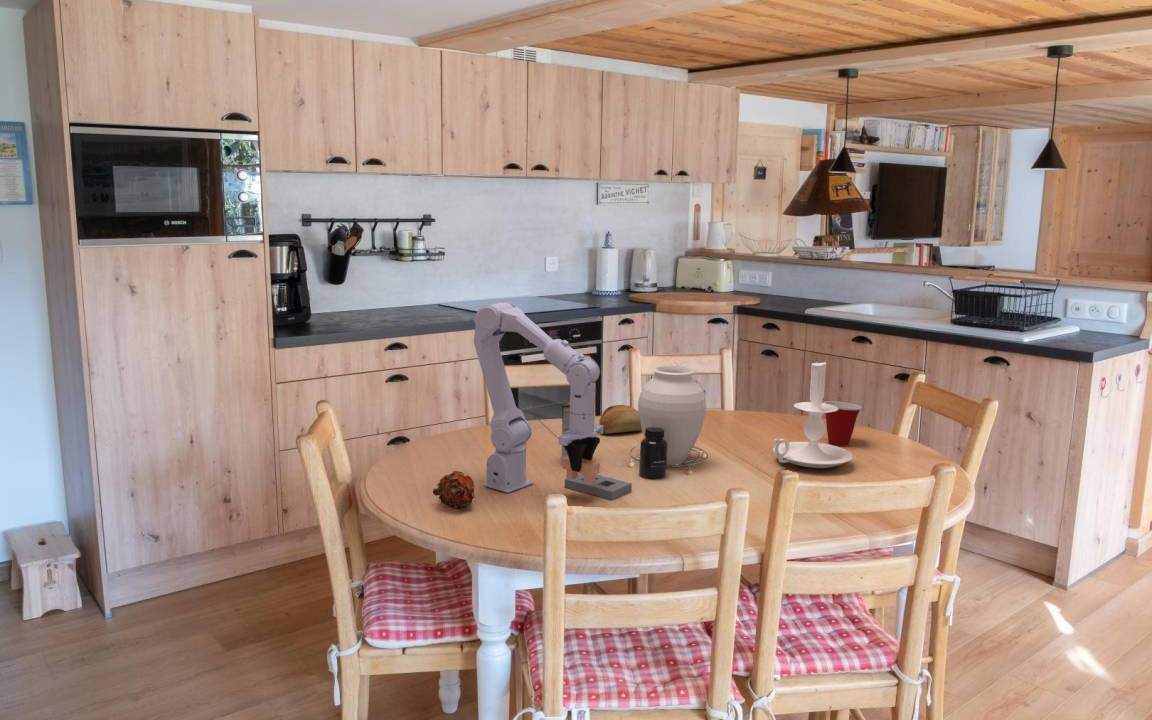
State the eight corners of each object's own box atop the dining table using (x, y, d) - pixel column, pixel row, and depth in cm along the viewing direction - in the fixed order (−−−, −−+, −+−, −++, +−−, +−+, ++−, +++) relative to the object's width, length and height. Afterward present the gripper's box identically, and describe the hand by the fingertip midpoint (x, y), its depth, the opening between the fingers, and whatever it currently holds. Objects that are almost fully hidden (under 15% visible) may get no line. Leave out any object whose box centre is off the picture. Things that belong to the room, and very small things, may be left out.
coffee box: (568, 455, 240) (569, 397, 237) (591, 456, 239) (592, 398, 236) (560, 464, 231) (561, 404, 228) (584, 466, 230) (586, 406, 227)
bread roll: (590, 431, 265) (591, 405, 263) (631, 425, 273) (632, 400, 271) (608, 439, 257) (609, 412, 255) (650, 432, 265) (651, 406, 263)
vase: (622, 460, 236) (625, 368, 231) (663, 448, 248) (666, 360, 244) (676, 476, 224) (680, 379, 219) (716, 461, 237) (721, 370, 232)
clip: (591, 485, 202) (592, 465, 202) (562, 477, 207) (563, 458, 207) (599, 482, 205) (599, 462, 204) (570, 474, 210) (570, 455, 209)
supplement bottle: (658, 481, 219) (660, 434, 217) (634, 476, 223) (635, 430, 221) (670, 474, 225) (672, 428, 223) (646, 469, 229) (648, 424, 227)
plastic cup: (866, 445, 256) (870, 405, 253) (842, 451, 250) (845, 409, 247) (836, 436, 264) (839, 397, 262) (812, 441, 258) (815, 401, 256)
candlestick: (744, 461, 238) (751, 358, 233) (809, 448, 251) (816, 351, 246) (802, 482, 221) (810, 372, 216) (868, 468, 234) (877, 364, 229)
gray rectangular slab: (612, 500, 205) (612, 491, 205) (564, 487, 213) (564, 479, 213) (631, 491, 211) (631, 483, 211) (584, 479, 220) (584, 471, 219)
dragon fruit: (461, 522, 194) (445, 512, 204) (489, 495, 196) (473, 487, 207) (437, 493, 191) (422, 485, 202) (466, 467, 194) (451, 460, 205)
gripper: (576, 421, 195) (575, 480, 198) (614, 409, 206) (612, 465, 209) (551, 415, 199) (550, 473, 202) (590, 404, 211) (588, 459, 213)
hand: (580, 469), depth 206 cm, fingers closed on clip, 3 cm apart
